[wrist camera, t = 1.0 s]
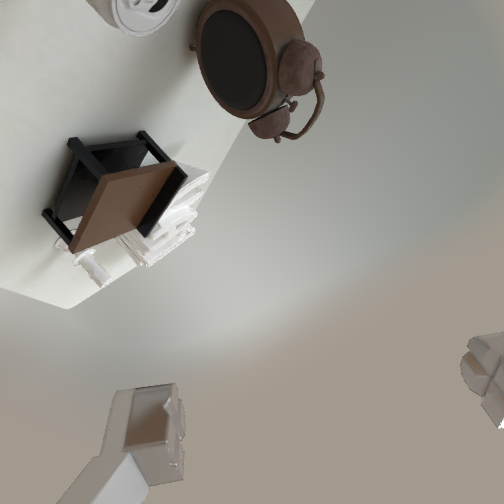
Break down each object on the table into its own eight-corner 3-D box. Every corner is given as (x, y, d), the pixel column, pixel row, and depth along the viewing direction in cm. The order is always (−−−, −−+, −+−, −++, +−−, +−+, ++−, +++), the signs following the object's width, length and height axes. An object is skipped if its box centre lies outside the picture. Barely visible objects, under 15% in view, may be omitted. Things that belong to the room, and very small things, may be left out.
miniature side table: (39, 216, 55) (82, 266, 54) (68, 136, 46) (120, 195, 45) (111, 196, 66) (147, 237, 65) (145, 129, 57) (188, 176, 56)
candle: (81, 237, 71) (120, 282, 70) (56, 252, 68) (96, 298, 67) (80, 224, 66) (121, 272, 65) (53, 239, 63) (96, 290, 63)
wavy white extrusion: (115, 171, 60) (155, 217, 60) (188, 135, 69) (224, 175, 68) (111, 253, 90) (138, 284, 89) (162, 221, 99) (187, 249, 98)
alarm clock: (195, -44, 38) (324, 89, 36) (241, -52, 42) (360, 69, 40) (174, 69, 50) (269, 172, 49) (211, 56, 54) (300, 150, 53)
